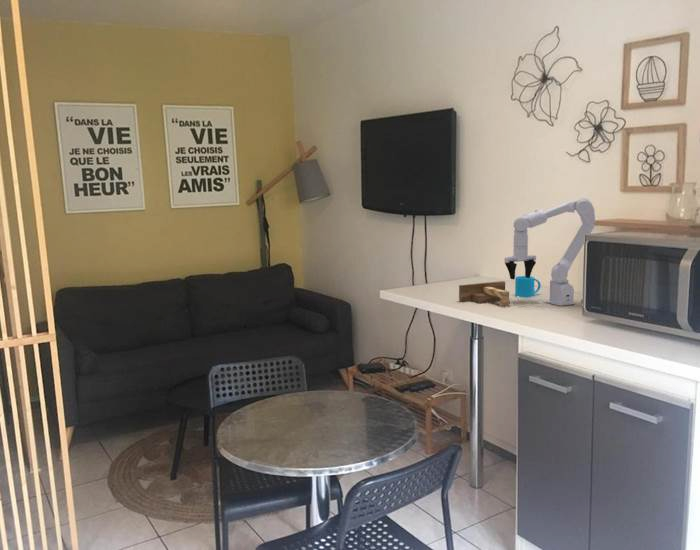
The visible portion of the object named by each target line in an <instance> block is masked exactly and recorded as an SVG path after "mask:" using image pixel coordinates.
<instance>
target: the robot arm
mask: <svg viewBox="0 0 700 550" xmlns="http://www.w3.org/2000/svg"><path fill="white" fill-rule="evenodd" d="M575 212H576V213H577V214H578V215H579V217H580V221H581V226H580V227H579V229H578V230H577V232H576V234H575V235H574V236H573V239H572V241H571V242H570V243H569V246H568V247H567V249H566V250H565V252H564V254H563V255H562V257H561V258H560V259H559V261H558V263H557V264H555V265H554V266H552V269H551V274H550V275H551V279H550V280H549V300H544V302H545V303H548V304H552V305H556V306H559V307H561V306H569V305H575V304H576V302H574V300H575V299H574V297H575V295H574V293H575V289H574V286H573V285H572V284H570V283H569V280H568V279H567V278H568V272H569V270H570V269H571V267H572V264H573V263H574V261H575V259H576V258H577V256H578V255H579V253H580V251H581V250H582V248H583V247H584V245H585V243H584V237H585V235H587V234H590V235H591V233H592V232H593V230H594V228H595V227H596V215H595V207H594V205H593V203H592V202H591V201H590V199H588V198H580V199H578V200H577V199H575V200H571V201H567V202H564V203H562V204H560V205H557V206H554V207H552V208H550V209H548V210H542V209H535V210H534V211H533V212H531V213H529V214H526V213H525V214H523V216H519V217H517V218H516V219H515V220H514V222H513V228H514V231H513V255H512V256H507V257H504V265H505V266H506V268H507V271H508V274H509V278H510V280H515V277H516V270H517V269H516V268H517V265H518V264H517V262H523V264H524V271H525V272H524V276H525V277H526V278H530V276H531V275H532V271H533V269H534V267H535V265H536V262H537V255H533V254H532V255H528V253H529V252H528V249H529V247H528V246H529V235H528V229H532V228H535V227H538V226H540V225H543V224H545V223H547V221H548V219H550V218H553V217H556V216H559V215H561V214H564V213H574V214H575ZM593 223H595V224H593Z"/></svg>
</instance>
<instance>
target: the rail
mask: <svg viewBox="0 0 700 550" xmlns="http://www.w3.org/2000/svg"><path fill="white" fill-rule="evenodd" d="M484 294H485V295H487V294H489V295H493V296H496V297H500V301H499V306H500V307H502V308H506V307H505V306H507V307H510V291H508V290H506V289H505V290H501V289H497V288H493V287H484Z"/></svg>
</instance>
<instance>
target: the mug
mask: <svg viewBox="0 0 700 550" xmlns="http://www.w3.org/2000/svg"><path fill="white" fill-rule="evenodd" d="M514 280H515V281H514V282H515V283H514V288H515V290H514V297H517V296H519V297H518V298H533V297H534V296H535V294H536V293H538V292H539V290H540V289H541V287H542V285H541V282H540V281H539V280H538V279H537V278H535V277H534V276H531V275H530V278H526V277H525V275H520V276H519V275H518V276H515V279H514ZM535 282H537V289H536V290H535ZM532 296H533V297H532Z"/></svg>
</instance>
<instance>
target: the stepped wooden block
mask: <svg viewBox="0 0 700 550" xmlns="http://www.w3.org/2000/svg"><path fill="white" fill-rule="evenodd" d="M484 287H493V288H497V289H501V290H505V291H506V280H505V281H504V280H500V281H499V280H498V281H489V282H479V283H477V282H476V283H467V284H459V285H458V301H459V302H461V303H465V302H474V303H477V304H479V303H480V304H487V303H486V302H489V303H497V302H496V301H498V302H500V297H496V296H493V295H489V294H487V295H485V294H484Z"/></svg>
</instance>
